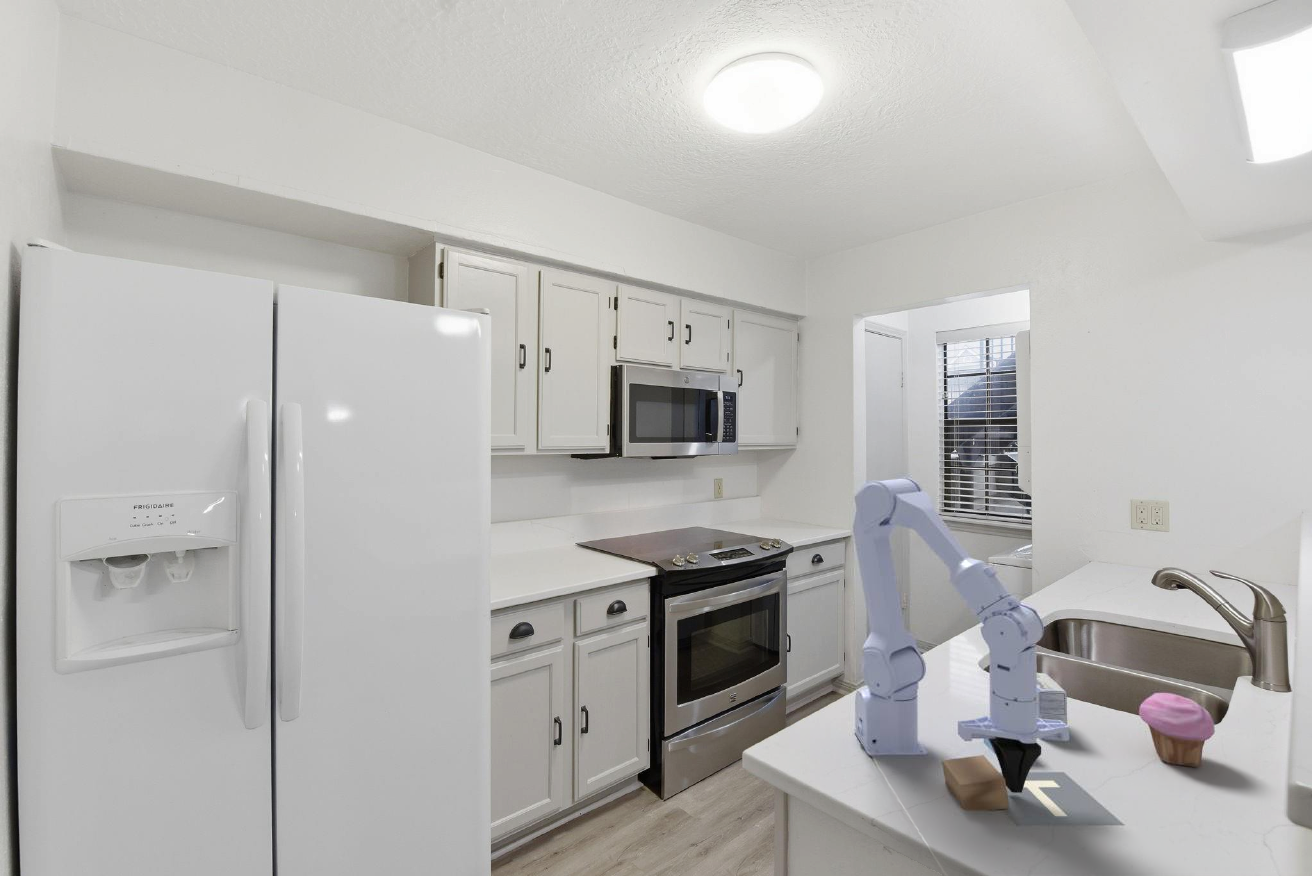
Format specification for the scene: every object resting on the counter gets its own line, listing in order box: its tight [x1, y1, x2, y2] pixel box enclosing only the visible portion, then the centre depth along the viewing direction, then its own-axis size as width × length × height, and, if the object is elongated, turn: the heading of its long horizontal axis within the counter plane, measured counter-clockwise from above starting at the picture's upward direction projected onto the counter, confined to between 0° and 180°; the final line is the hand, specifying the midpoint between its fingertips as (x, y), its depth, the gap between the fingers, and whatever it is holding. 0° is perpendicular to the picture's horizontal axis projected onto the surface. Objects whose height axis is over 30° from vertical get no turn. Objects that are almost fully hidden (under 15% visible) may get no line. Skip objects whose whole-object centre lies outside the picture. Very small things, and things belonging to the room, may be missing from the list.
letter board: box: [998, 771, 1125, 827], centre depth 84 cm, size 14×12×1 cm
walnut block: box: [941, 754, 1010, 811], centre depth 85 cm, size 6×6×4 cm
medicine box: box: [1037, 672, 1069, 742], centre depth 103 cm, size 8×4×9 cm, turn 168°
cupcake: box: [1138, 692, 1215, 768], centre depth 94 cm, size 9×9×10 cm
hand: (1013, 788), depth 84 cm, fingers closed
